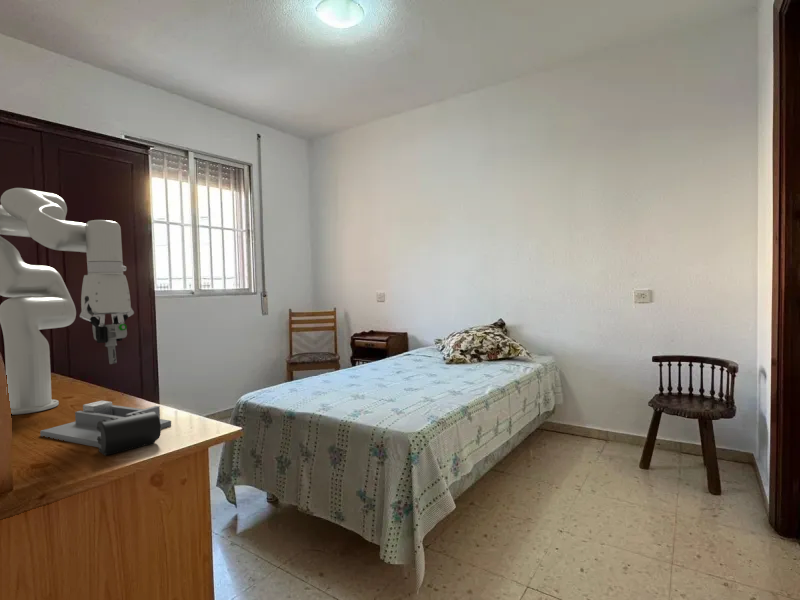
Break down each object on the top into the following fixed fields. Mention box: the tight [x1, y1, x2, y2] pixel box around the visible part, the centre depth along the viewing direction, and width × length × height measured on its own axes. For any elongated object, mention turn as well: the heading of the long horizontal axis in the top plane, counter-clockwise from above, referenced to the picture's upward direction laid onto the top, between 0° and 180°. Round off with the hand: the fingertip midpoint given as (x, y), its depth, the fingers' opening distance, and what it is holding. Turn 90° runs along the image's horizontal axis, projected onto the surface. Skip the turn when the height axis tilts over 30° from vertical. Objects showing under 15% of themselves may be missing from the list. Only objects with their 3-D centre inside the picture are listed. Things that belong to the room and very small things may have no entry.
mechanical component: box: [92, 323, 128, 365], centre depth 112 cm, size 3×10×10 cm, turn 69°
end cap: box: [96, 412, 162, 456], centre depth 91 cm, size 10×7×7 cm
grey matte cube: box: [82, 400, 113, 415], centre depth 107 cm, size 4×4×4 cm
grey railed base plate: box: [39, 404, 172, 449], centre depth 102 cm, size 22×16×5 cm
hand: (109, 341), depth 112 cm, fingers closed on mechanical component, 3 cm apart
